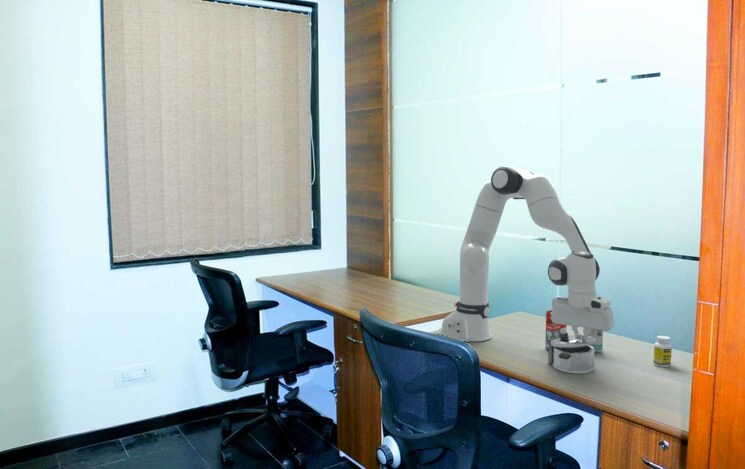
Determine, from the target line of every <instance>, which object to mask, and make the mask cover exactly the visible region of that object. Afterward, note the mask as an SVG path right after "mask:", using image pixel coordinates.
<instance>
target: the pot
mask: <svg viewBox="0 0 745 469" xmlns="http://www.w3.org/2000/svg"><path fill="white" fill-rule="evenodd" d="M547 356H548V359H547V364H549V365H552V367H553V368H554V369H555V370H556V371H559V372H562V373H567V374H573V375H574V374H575V375H584V374H590V373H592V372H593V371H594V370H595V353H594V348H593V346H590V345H588V346H584V347H577V348H558V347H554V346H552V345H549V350H548V354H547Z"/></svg>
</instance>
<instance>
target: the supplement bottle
mask: <svg viewBox="0 0 745 469" xmlns="http://www.w3.org/2000/svg"><path fill="white" fill-rule="evenodd" d="M672 349H673V345H672V344H671V337H669V336H667V335H657V337H656V341H655V343H654V347H653V362H652V363H653V364H654V366H657V367H662V368H669V367H671V365H672V351H673V350H672Z"/></svg>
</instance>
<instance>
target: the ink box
mask: <svg viewBox="0 0 745 469" xmlns="http://www.w3.org/2000/svg"><path fill="white" fill-rule="evenodd" d="M551 315H552V309H551V310H546V314H545V349H546V350H548V351H549V342H550V341H552V340H553V339H557V338H560V335H559V334H560V333H564V332H566V333H567V325H563V324H556V323H553V322H552V320H551Z"/></svg>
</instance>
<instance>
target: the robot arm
mask: <svg viewBox="0 0 745 469" xmlns="http://www.w3.org/2000/svg"><path fill="white" fill-rule="evenodd" d="M510 199H513V200H525V202H526V204H527V209H528V213H529V215H530V218H531V220H532V221H533V223H534V224H535V225H536V226H538V227H539V228H542V229H545V230H548V231H552V232H554V233H556V234H559V235H560V236H562V237H563V238H564V240H565V241H566V243H567V245H568V247H569V249H570V253H569V254H567V255H566V256H563V257H562V256H561V257H559V258H555V259H552V261H550V263H549V265H548V268H547V275H548V276H547V277H548V280H550V282H551V283H552V284H553V285H555V286H558V287H559V286H560V287H562V286H566V287H568V288H567V297H564V296H555V297H553V298H552V300H551V308H552V309H551V310H552V312H551V314H552V315H551V320H552V322H553V323H556V324H563V325H566V326H569V327H570V326H571V330H572V332H573V334H574V336H575V339H578V340H580V339H581V340H584V341H586V340H587V336H588V334H589V332H590V331H591V329H596V330H602V331H603V332H604V331H605V332H609V331H611V330H612V329H613V328H614V314H613V310H612V309H611V307H610V306H611V304H612V303H611V302H612V301H611V299H609V298H606V297H603V296H601V295H600V294H597V290H596V280H597V279H598V278H599V276H600V273H601V272H600V270H601V269H600V265H599V262H598V261H597V259H596V258H595V255H594V254H592V252H591V250H590V249H589V247H588V244H587V242H586V240H585V239H584V236H583V234H582V232H581V231H580V229H579V226H578V224H577V223H576V221H575V219H574V218H573V217H572V216H571V215H569V214H568V213H567V212H566V210H565V209H564V208H563V206H562V204H561V202H560V199H559V197H558V194H557V191H556V189H555V187H554V185H553V183H552V182H551V180H550V178H549V177H548V176H547V175H543V174H534V173H533V172H531V171H528V170H525V169H522V168H519V167H517V168H516V167H512V166H508V165H507V166H499V167H498V168H496V169H495V170H494V171H493V173H492V174H491V177H490V180H487V181H486V182H484V184H483V186H482V187H481V189H480V191H479V193H478V196H477V198H476V201H475V205H474V208H473V211H472V213H471V216H470V217H471V218H470V221H469V223H468V226H467V229H466V233H465V235H464V238H463V241H462V244H461V247H460V254H459V301H457V302H456V303H454V304H453V307H454V308H455V307H456V308H455V310H453V311H452V312H451V313H449V314H448V315H447V316H445V317H444V318H443V320H442V325H441V328H438V329H437V330H436V335H437V334H439V335H438V336H440V335H443V336H442V337H444V336H447V337H451V338H455V339H459V340H462V341H465V342H464V343H466V342H483V341H484V342H485V341H487V340H488V341H489V340H490V339H492V333H491V329H490V322H489V316H490V315H489V313H490V303H489V299H488V298H489V270H490V268H489V267H490V265H489V264H490V263H489V262H490V260H489V259H490V255H489V252H490V249H491V246H492V243H493V241H494V239H495V236H496V233H497V232H498V228H499V225H500V222H501V218H502V215H503V212H504V209H505V206H506V203H507V201H509V200H510ZM579 328H582V329H583V328H585V331H586V333H585V334H583V333H580V332H579V330H578V329H579ZM447 337H446V338H447ZM581 337H582V338H581Z"/></svg>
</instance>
